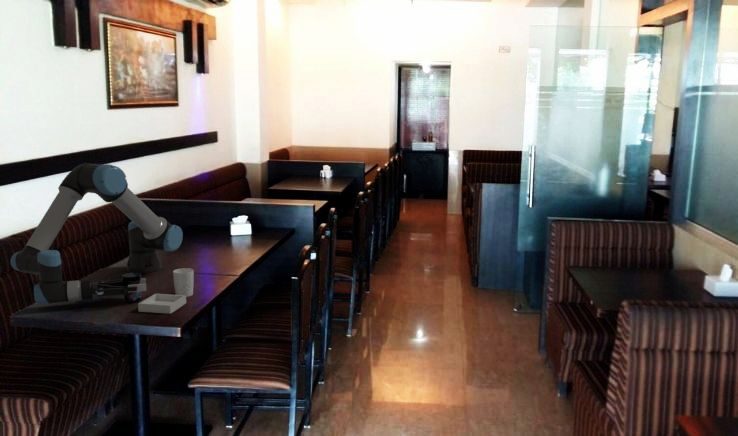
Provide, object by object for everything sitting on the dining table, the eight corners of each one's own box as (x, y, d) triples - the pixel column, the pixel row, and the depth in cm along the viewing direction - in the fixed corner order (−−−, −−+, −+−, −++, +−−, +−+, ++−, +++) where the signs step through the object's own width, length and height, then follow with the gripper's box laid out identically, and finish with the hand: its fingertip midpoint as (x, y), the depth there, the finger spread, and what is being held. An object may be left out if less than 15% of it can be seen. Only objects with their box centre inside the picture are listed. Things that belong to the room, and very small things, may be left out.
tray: (138, 311, 228) (138, 303, 227) (155, 301, 240) (155, 293, 239) (170, 313, 226) (170, 305, 225) (186, 302, 238) (185, 295, 237)
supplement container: (126, 304, 235) (124, 278, 234) (121, 300, 241) (120, 274, 239) (144, 301, 239) (143, 275, 237) (139, 297, 245) (138, 271, 243)
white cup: (187, 290, 253) (185, 267, 252) (198, 294, 249) (197, 270, 247) (170, 295, 247) (168, 271, 246) (181, 299, 243) (180, 274, 241)
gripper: (83, 292, 243) (146, 286, 250) (79, 307, 224) (147, 301, 232) (82, 273, 241) (145, 268, 249) (78, 287, 223) (145, 281, 231)
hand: (145, 284), depth 241 cm, fingers closed on supplement container, 7 cm apart
